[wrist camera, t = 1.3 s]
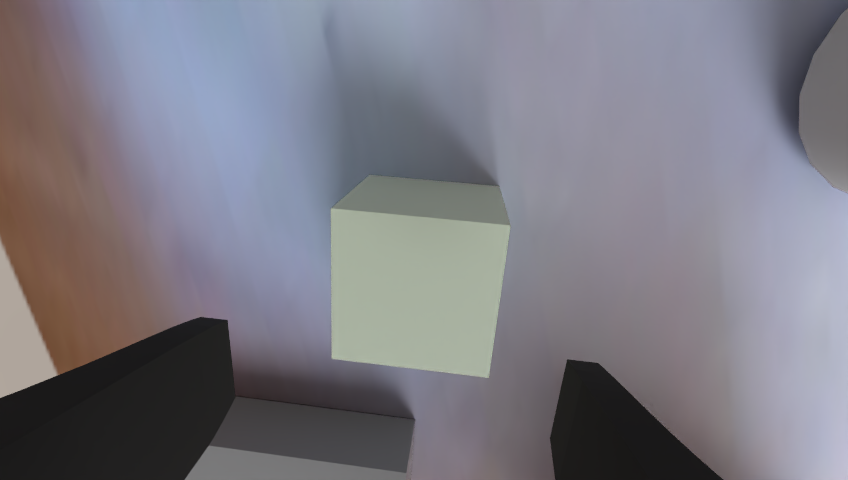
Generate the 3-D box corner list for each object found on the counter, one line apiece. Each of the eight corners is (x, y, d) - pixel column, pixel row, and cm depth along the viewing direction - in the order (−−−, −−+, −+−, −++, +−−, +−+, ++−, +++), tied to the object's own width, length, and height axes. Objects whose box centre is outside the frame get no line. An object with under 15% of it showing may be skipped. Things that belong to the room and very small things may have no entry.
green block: (499, 185, 16) (510, 225, 12) (483, 302, 18) (488, 377, 13) (370, 174, 17) (331, 208, 12) (367, 289, 18) (331, 358, 14)
